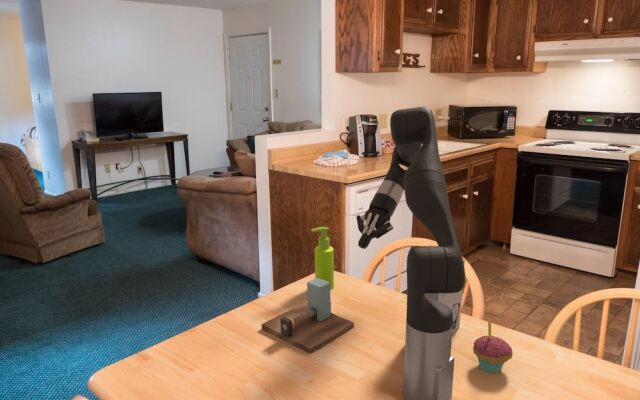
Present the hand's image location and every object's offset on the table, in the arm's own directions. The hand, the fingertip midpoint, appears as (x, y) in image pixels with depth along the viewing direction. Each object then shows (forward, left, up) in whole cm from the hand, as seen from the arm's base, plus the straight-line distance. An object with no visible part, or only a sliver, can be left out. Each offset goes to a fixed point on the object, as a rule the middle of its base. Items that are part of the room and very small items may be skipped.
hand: (361, 247), depth 143 cm
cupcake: (-44, +8, -17) cm, 48 cm away
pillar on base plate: (0, +23, -17) cm, 28 cm away
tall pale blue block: (0, +19, -15) cm, 24 cm away
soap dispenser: (+14, +2, -17) cm, 22 cm away
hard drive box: (-27, +4, -17) cm, 32 cm away
